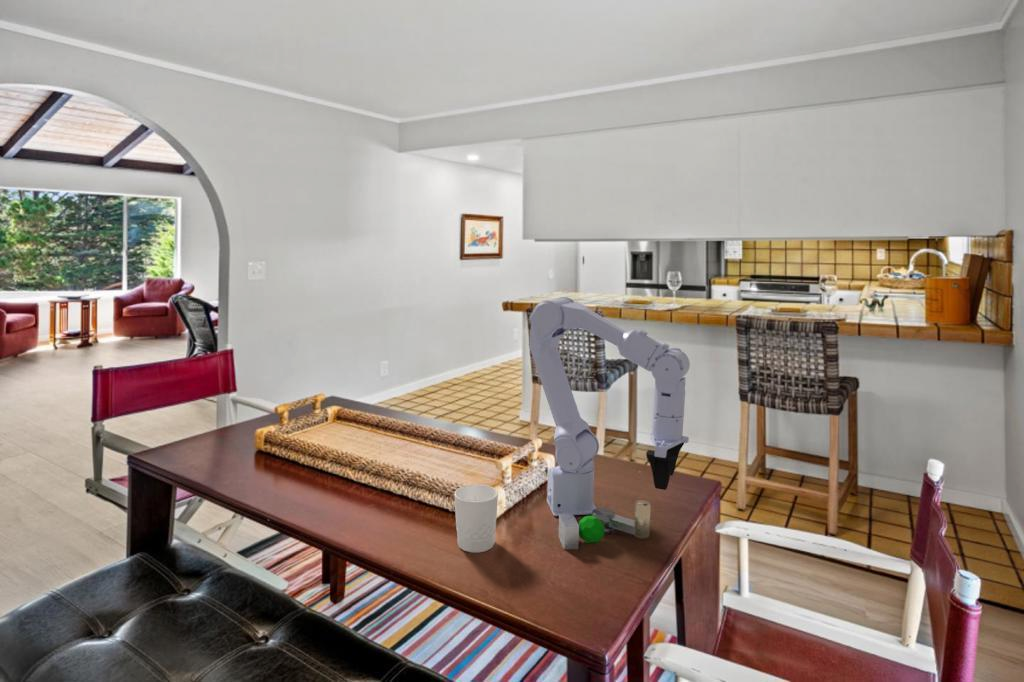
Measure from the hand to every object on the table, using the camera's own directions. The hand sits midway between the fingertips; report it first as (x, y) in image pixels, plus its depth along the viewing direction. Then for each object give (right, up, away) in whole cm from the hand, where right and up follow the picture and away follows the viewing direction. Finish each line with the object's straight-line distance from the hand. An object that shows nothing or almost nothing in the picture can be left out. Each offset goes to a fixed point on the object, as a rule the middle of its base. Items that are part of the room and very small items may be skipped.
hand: (664, 481), depth 119 cm
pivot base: (-12, -9, +1) cm, 15 cm away
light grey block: (-19, -10, -5) cm, 22 cm away
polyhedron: (-15, -11, -4) cm, 19 cm away
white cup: (-36, -10, -6) cm, 38 cm away
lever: (-9, -9, -2) cm, 12 cm away
